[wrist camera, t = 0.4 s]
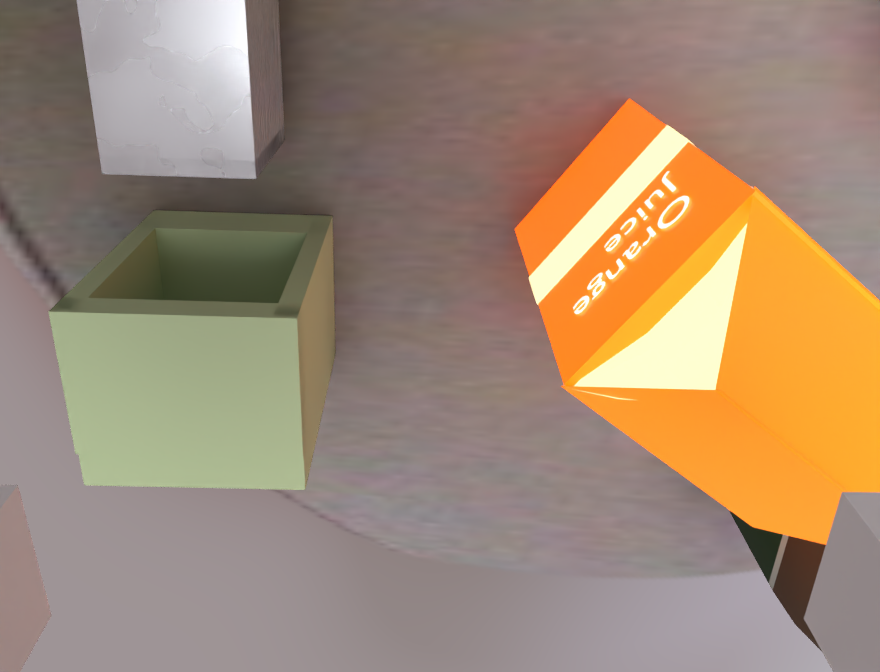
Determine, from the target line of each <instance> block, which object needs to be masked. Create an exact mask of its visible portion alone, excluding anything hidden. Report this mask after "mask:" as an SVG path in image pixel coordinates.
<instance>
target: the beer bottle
mask: <svg viewBox="0 0 880 672" xmlns="http://www.w3.org/2000/svg"><path fill="white" fill-rule="evenodd" d="M729 511H730V510H729ZM730 513H731V515H732V517H733V518H734V520H735V522H736V524H737V526H738V528H739V529H740V531H741V533H742V535H743V537H744V539H745V540H746V542H747V544H748V546H749V548H750V550H751V552H752V553H753V555H754V557H755V559H756V561H757V563H758V564H759V566H760V568H761V570H762V572H763V574H764V576H765V577H766V579H767V581H768V583H769V585H770V587H771V588H772V590H773V592H774V593H775V595H776V596H777V598H778V599H779V601H780V602H781V604H782V605H783V607H784V608H785V610H786V611H787V613H788V614H789V615H790V617H791V619H792V620H793V622H794V623H795V624H796V626H797V627H798V628H799V629H801V631H802V632H803V633H804V634H805V635H806V636H807V637H808V638H809V639H810V640H811V641H812V642H813V643H814V644H815V645H816V646H817V647H818V648H819V649H820V647H819V645H818V643H817V641H816V640H815V638H814V636H813V634H812V632H811V631H810V629H809V627H808V625H807V624H806V622H805V620H804V616H805V613H806V610H807V606H808V603H809V600H810V596H811V593H812V590H813V586H814V583H815V580H816V576H817V573H818V570H819V566H820V563H821V560H822V556H823V553H824V550H825V546H826V545H825V544H821V543H817V542H812V541H808V540H804V539H800V538H796V537H792V536H788V535H783V534H779V533H775V532H771V531H767V530H763V529H759V528H754V527H752V526H750V525H749V524H748V523H746V522H745V521H744V520H742V519H741V518H740V517H738V516H737V515H736V514H734V513H733V512H731V511H730ZM820 650H821V649H820ZM821 651H822V650H821Z"/></svg>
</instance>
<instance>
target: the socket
mask: <svg viewBox="0 0 880 672" xmlns="http://www.w3.org/2000/svg"><path fill="white" fill-rule="evenodd" d="M49 317H50V323H51V328H52V333H53V338H54V343H55V348H56V354H57V359H58V364H59V369H60V375H61V380H62V385H63V391H64V395H65V401H66V406H67V411H68V417H69V422H70V427H71V432H72V438H73V443H74V448H75V453H76V454H79V459H80V465H81V470H82V475H83V481H84V485H96V486H98V485H99V486H147V487H193V488H242V489H289V490H305V489H306V484H307V480H308V475H309V471H310V466H311V462H312V457H313V453H314V448H315V444H316V439H317V434H318V430H319V425H320V421H321V416H322V412H323V407H324V403H325V398H326V394H327V389H328V385H329V380H330V376H331V371H332V367H333V362H334V358H335V309H334V262H333V216H321V215H289V214H258V213H226V212H194V211H162V210H154V211H153V212H152V213H151V214H150V215H149V216H147V217H146V218H145V219H144V220H143V221H142V222H141V223H140V224H139V225H138V226H137V227H136V228H135V229H134V230H133V231H132V232H131V233H130V234H129V235H128V236H127V237H126V238H125V239H124V240H123V241H121V242H120V243H119V244H118V245H117V246H116V247H115V248H114V249H113V250H112V251H111V252H110V253H109V254H108V255H107V256H106V257H105V258H104V259H103V260H102V261H101V262H100V263H99V264H98V265H97V266H95V267H94V268H93V269H92V270H91V271H90V272H89V273H88V274H87V275H86V276H85V277H84V278H83V279H82V280H81V281H80V282H79V283H78V284H77V285H76V286H75V287H74V288H73V289H72V290H71V291H70V292H68V293H67V294H66V295H65V296H64V297H63V298H62V299H61V300H60V301H59V302H58V303H57V304H56V305H55V306H54V307H53V308H52V309H51V310H50V311H49Z"/></svg>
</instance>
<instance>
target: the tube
mask: <svg viewBox="0 0 880 672" xmlns="http://www.w3.org/2000/svg"><path fill="white" fill-rule="evenodd" d="M77 6H78V13H79V20H80V27H81V34H82V40H83V47H84V54H85V61H86V68H87V74H88V81H89V88H90V95H91V102H92V108H93V115H94V122H95V129H96V136H97V142H98V149H99V156H100V163H101V170H102V174H118V175H148V176H178V177H209V178H239V179H256V178H257V177H258V176H259V174H260V173H261V172H262V170H263V169H264V167H265V166H266V165H267V163H268V162H269V161H270V159H271V158H272V157H273V155H274V154H275V152H276V151H277V150H278V148H279V147H280V146H281V144H282V143H283V142H284V140H285V136H284V114H283V92H282V70H281V49H280V27H279V5H278V0H77Z"/></svg>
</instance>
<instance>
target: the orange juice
mask: <svg viewBox="0 0 880 672" xmlns="http://www.w3.org/2000/svg"><path fill="white" fill-rule="evenodd" d="M515 232H516V235H517V239H518V242H519V245H520V248H521V251H522V254H523V257H524V261H525V264H526V267H527V270H528V273H529V281H530V284H531V287H532V290H533V294H534V297H535V300H536V303H537V304H538V305H539V308H540V311H541V314H542V317H543V320H544V323H545V327H546V330H547V333H548V336H549V339H550V342H551V345H552V349H553V352H554V355H555V358H556V361H557V364H558V367H559V371H560V374H561V377H562V380H563V383H564V385H565V386H561V387H563V388H564V389H565V390H567V391H568V392H569V393H571V394H572V395H573V396H575V397H576V398H578V399H579V400H580V401H582V402H583V403H584V404H586V405H587V406H588V407H590V408H591V409H593V410H594V411H595V412H597V413H598V414H599V415H601V416H602V417H603V418H605V419H606V420H608V421H609V422H610V423H612V424H613V425H614V426H616V427H617V428H618V429H620V430H621V431H622V432H624V433H625V434H627V435H628V436H629V437H631V438H632V439H633V440H635V441H636V442H637V443H639V444H640V445H642V446H643V447H644V448H646V449H647V450H648V451H650V452H651V453H652V454H654V455H655V456H657V457H658V458H659V459H661V460H662V461H663V462H665V463H666V464H667V465H669V466H670V467H672V468H673V469H674V470H676V471H677V472H678V473H680V474H681V475H682V476H684V477H685V478H686V479H688V480H689V481H691V482H692V483H693V484H695V485H696V486H697V487H699V488H700V489H701V490H703V491H704V492H706V493H707V494H708V495H710V496H711V497H712V498H714V499H715V500H716V501H718V502H719V503H721V504H722V505H723V506H725V507H726V508H727V509H729V510H730V511H731V512H733V513H734V514H736V515H737V516H738V517H740V518H741V519H742V520H744V521H745V522H746V523H748V524H749V525H750V526H752V527H754V528H759V529H763V530H767V531H771V532H775V533H779V534H783V535H788V536H792V537H796V538H800V539H804V540H808V541H812V542H817V543H821V544H825V545H826V543H827V540H828V536H829V533H830V530H831V526H832V523H833V520H834V516H835V513H836V510H837V506H838V503H839V500H840V497H841V493H842V492H880V301H879V300H878V299H877V298H876V297H875V296H874V295H873V294H872V293H871V292H870V291H868V290H867V289H866V288H865V287H864V286H863V285H862V284H861V283H860V282H859V281H858V280H856V279H855V278H854V277H853V276H852V275H851V274H850V273H849V272H848V271H847V270H846V269H845V268H843V267H842V266H841V265H840V264H839V263H838V262H837V261H836V260H835V259H834V258H833V257H831V256H830V255H829V254H828V253H827V252H826V251H825V250H824V249H823V248H822V247H821V246H819V245H818V244H817V243H816V242H815V241H814V240H813V239H812V238H811V237H810V236H809V235H807V234H806V233H805V232H804V231H803V230H802V229H801V228H800V227H799V226H798V225H797V224H795V223H794V222H793V221H792V220H791V219H790V218H789V217H788V216H787V215H786V214H785V213H783V212H782V211H781V210H780V209H779V208H778V207H777V206H776V205H775V204H774V203H773V202H771V201H770V200H769V199H768V198H767V197H766V196H765V195H764V194H763V193H762V192H761V191H759V190H758V189H757V188H756V187H754V189H753V188H751V187H750V186H749V185H747V184H746V183H744V182H743V181H742V180H740V179H739V178H738V177H736V176H735V175H734V174H732V173H731V172H729V171H728V170H727V169H725V168H724V167H723V166H721V165H720V164H719V163H717V162H716V161H714V160H713V159H712V158H710V157H709V156H708V155H706V154H705V153H703V152H702V151H701V150H699V149H698V148H697V147H696V146H695V145H694V144H692V143H691V142H690V141H689V140H688V139H687V138H685V137H684V136H682V135H681V134H680V133H678V132H677V131H675V130H674V129H673V128H671V127H670V126H669V125H665V124H664V123H662V122H661V121H660V120H658V119H657V118H656V117H654V116H653V115H652V114H650V113H649V112H647V111H646V110H645V109H643V108H642V107H641V106H639V105H638V104H636V103H635V102H634V101H632V100H631V99H630V98H629V99H628V100H627V102H626V103H625V104H624V105H623V106H622V107H621V108H620V109H619V111H618V112H617V113H616V114H615V115H614V116H613V117H612V119H611V120H610V121H609V122H608V123H607V124H606V125H605V127H604V128H603V129H602V130H601V131H600V132H599V133H598V135H597V136H596V137H595V138H594V139H593V140H592V141H591V143H590V144H589V145H588V146H587V147H586V148H585V149H584V151H583V152H582V153H581V154H580V155H579V156H578V157H577V159H576V160H575V161H574V162H573V163H572V164H571V165H570V167H569V168H568V169H567V170H566V171H565V172H564V173H563V175H562V176H561V177H560V178H559V179H558V180H557V181H556V183H555V184H554V185H553V186H552V187H551V188H550V189H549V191H548V192H547V193H546V194H545V195H544V196H543V197H542V198H541V200H540V201H539V202H538V203H537V204H536V205H535V206H534V208H533V209H532V210H531V211H530V212H529V213H528V214H527V216H526V217H525V218H524V219H523V220H522V221H521V222H520V224H519V225H518V226H517V227H516V228H515Z"/></svg>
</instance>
